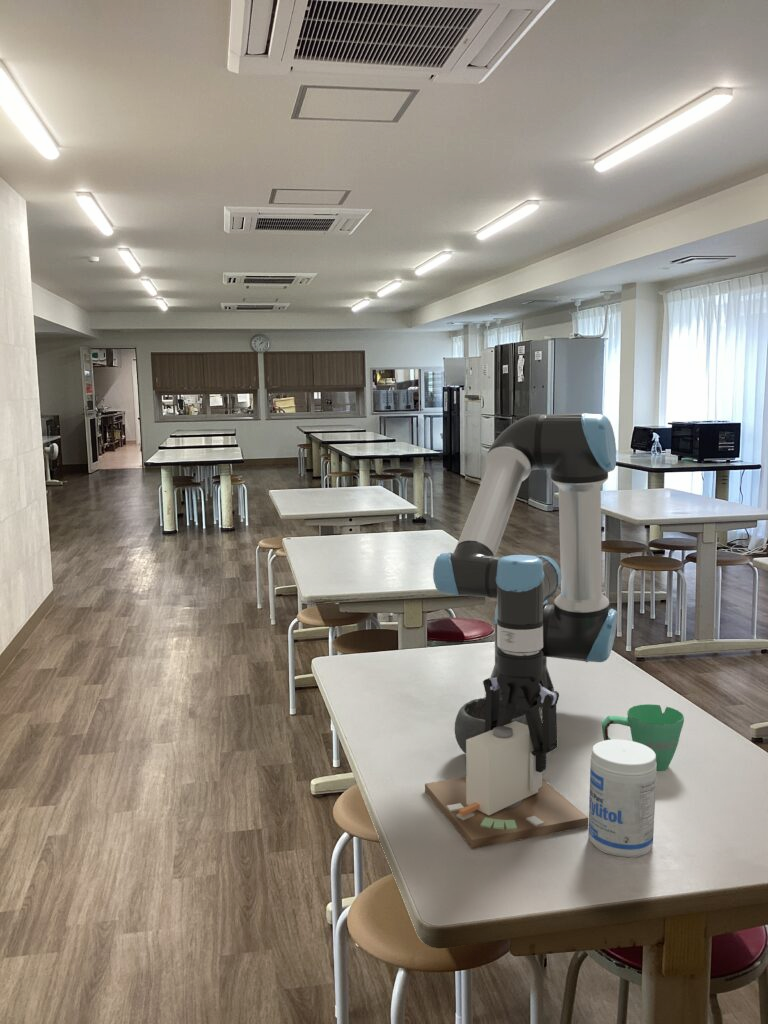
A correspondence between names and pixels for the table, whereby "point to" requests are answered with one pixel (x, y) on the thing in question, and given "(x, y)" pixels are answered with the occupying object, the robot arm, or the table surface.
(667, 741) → the mug
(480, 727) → the bowl
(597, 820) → the supplement tub
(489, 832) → the board
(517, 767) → the white block with knob
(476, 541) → the robot arm
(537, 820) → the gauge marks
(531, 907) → the table surface
